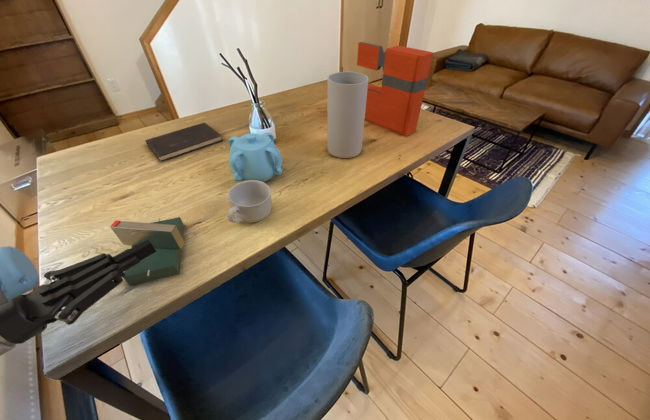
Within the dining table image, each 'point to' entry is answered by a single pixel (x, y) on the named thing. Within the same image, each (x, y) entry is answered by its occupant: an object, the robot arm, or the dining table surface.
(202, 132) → the hardcover book
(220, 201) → the dining table surface
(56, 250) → the dining table surface
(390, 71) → the clamp
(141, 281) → the green block
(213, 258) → the dining table surface
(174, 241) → the red-tipped metal bar
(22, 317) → the robot arm
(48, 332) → the dining table surface
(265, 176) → the decorative pot
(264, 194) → the teacup
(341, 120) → the cylinder vase
